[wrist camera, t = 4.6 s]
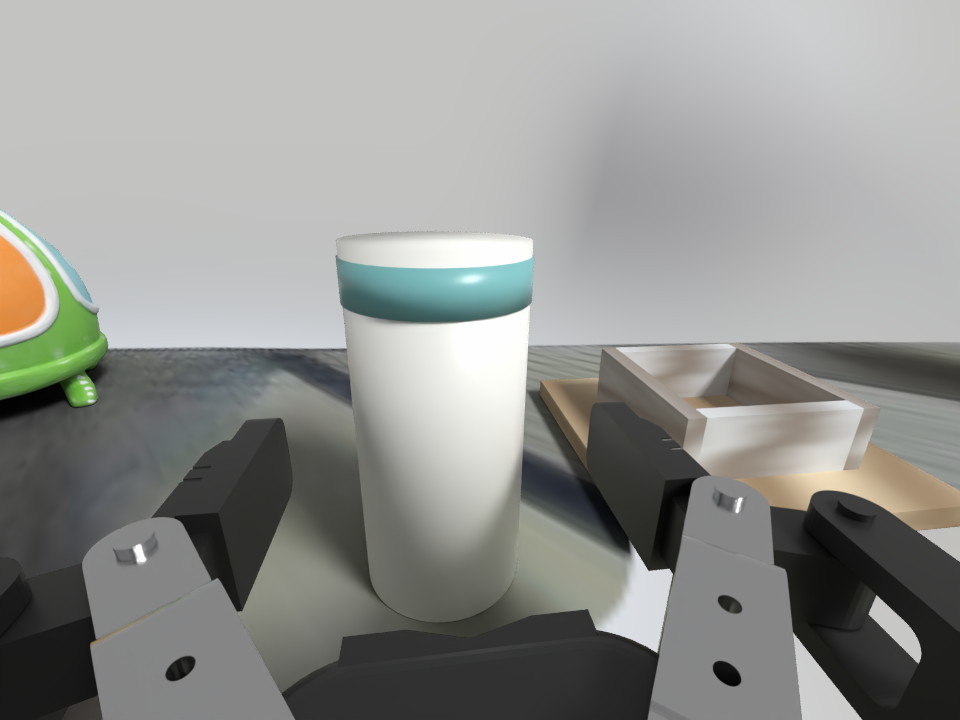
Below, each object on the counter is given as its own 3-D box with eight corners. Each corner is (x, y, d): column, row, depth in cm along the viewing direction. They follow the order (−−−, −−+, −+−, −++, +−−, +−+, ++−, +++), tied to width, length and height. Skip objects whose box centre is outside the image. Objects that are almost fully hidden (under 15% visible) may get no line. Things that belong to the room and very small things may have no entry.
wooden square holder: (642, 558, 16) (659, 462, 14) (539, 394, 29) (543, 335, 27) (974, 524, 18) (1017, 436, 16) (736, 384, 31) (749, 329, 29)
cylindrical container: (359, 633, 13) (313, 250, 9) (374, 513, 18) (349, 231, 14) (534, 613, 14) (561, 249, 10) (503, 502, 19) (512, 231, 15)
